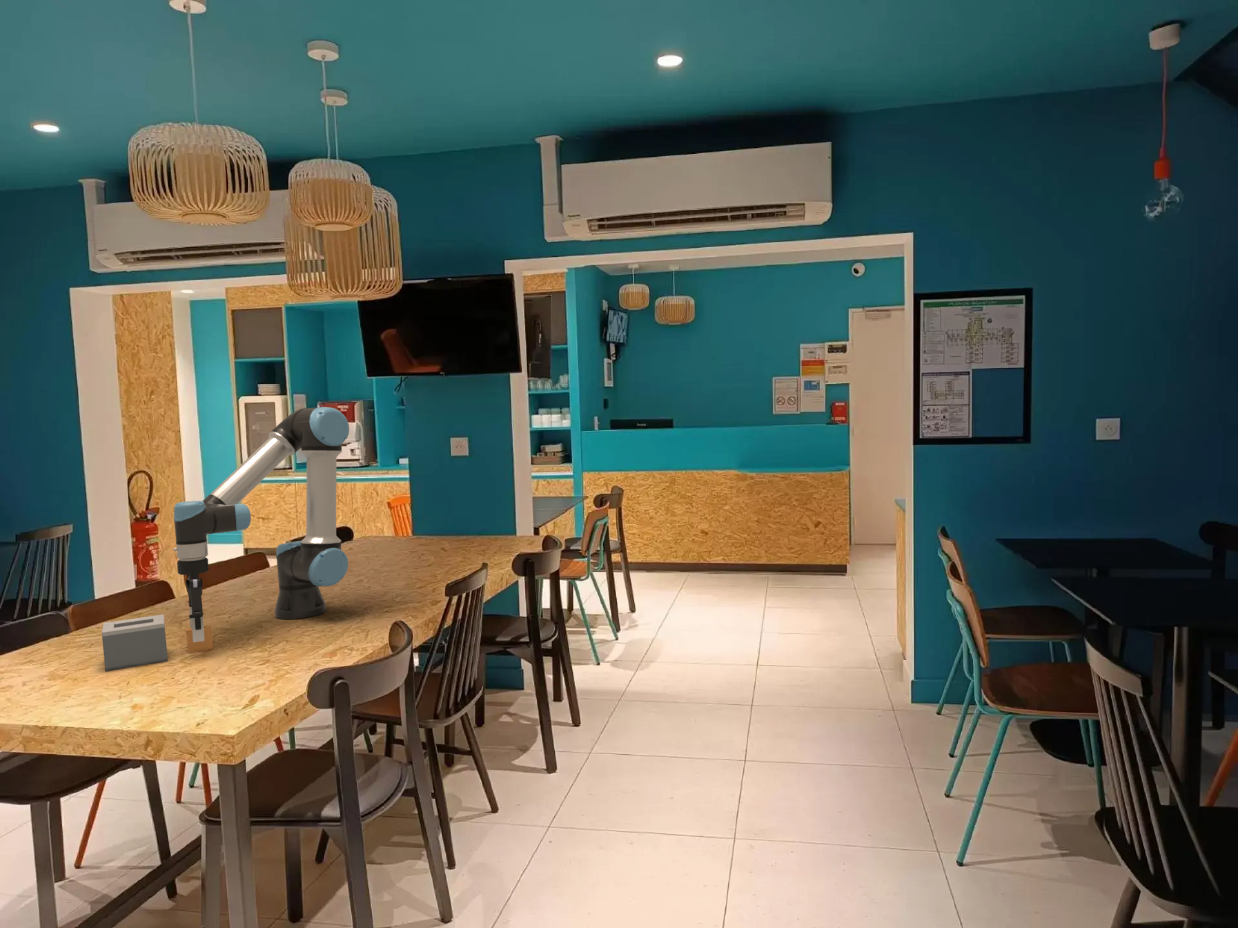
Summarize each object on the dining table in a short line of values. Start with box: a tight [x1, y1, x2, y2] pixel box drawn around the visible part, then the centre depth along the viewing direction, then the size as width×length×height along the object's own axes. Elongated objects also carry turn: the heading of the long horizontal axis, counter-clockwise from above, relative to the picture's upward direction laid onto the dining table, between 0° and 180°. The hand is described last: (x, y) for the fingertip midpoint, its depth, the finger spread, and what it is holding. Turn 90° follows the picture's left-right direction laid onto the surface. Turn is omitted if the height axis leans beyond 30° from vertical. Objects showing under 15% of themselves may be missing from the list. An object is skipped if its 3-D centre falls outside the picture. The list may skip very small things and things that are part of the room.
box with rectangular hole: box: [101, 614, 169, 672], centre depth 223 cm, size 14×12×10 cm
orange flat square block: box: [185, 624, 214, 653], centre depth 231 cm, size 6×2×6 cm, turn 119°
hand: (197, 635), depth 231 cm, fingers open, 13 cm apart
